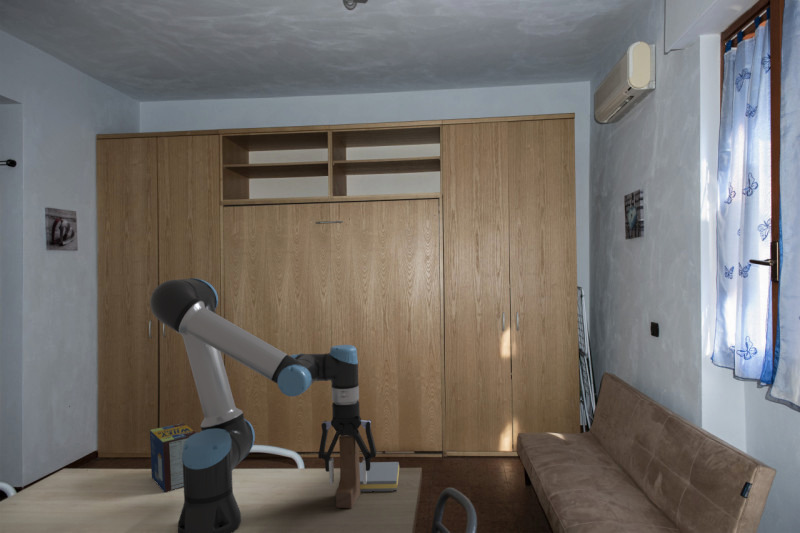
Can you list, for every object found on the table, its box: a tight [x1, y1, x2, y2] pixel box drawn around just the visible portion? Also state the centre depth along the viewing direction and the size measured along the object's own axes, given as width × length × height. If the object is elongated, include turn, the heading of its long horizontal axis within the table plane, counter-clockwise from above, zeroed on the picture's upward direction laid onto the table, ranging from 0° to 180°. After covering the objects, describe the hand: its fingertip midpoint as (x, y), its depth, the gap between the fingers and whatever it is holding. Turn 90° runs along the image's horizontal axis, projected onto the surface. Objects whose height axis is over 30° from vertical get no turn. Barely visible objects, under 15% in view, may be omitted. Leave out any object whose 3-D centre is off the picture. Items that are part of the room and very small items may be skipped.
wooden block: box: [335, 435, 361, 509], centre depth 141 cm, size 9×4×18 cm, turn 169°
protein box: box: [149, 422, 197, 493], centre depth 160 cm, size 10×15×16 cm
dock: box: [359, 461, 400, 493], centre depth 154 cm, size 14×14×3 cm
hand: (348, 482), depth 141 cm, fingers open, 9 cm apart
